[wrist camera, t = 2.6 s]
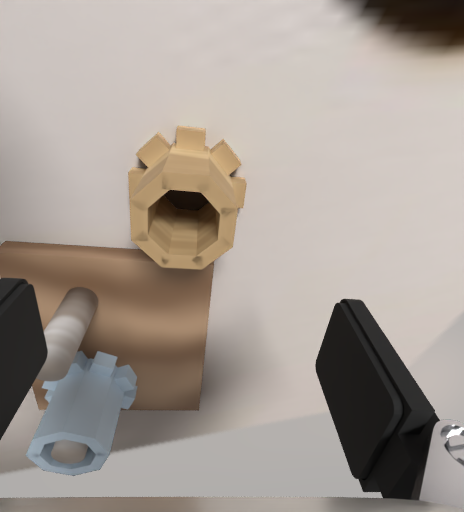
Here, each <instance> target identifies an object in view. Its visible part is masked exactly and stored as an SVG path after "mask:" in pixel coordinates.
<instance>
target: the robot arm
mask: <svg viewBox="0 0 464 512" xmlns="http://www.w3.org/2000/svg"><path fill="white" fill-rule="evenodd" d="M47 355H48V349H47V344H46V340H45V335H44V331H43V326H42V322H41V317H40V313H39V308H38V303H37V299H36V294H35V290H34V287H33V285H32V284H28V282H27V280H26V279H21V278H5V277H4V278H1V279H0V440H1V438H2V436H3V434H4V433H5V431H6V429H7V428H8V426H9V424H10V422H11V421H12V419H13V417H14V415H15V414H16V412H17V410H18V408H19V407H20V405H21V403H22V402H23V400H24V398H25V396H26V395H27V393H28V391H29V389H30V388H31V386H32V384H33V383H34V381H35V379H36V377H37V376H38V374H39V372H40V370H41V369H42V367H43V365H44V363H45V361H46V359H47ZM316 373H317V376H318V378H319V381H320V384H321V387H322V390H323V393H324V396H325V399H326V401H327V404H328V407H329V410H330V413H331V416H332V419H333V421H334V424H335V427H336V430H337V433H338V436H339V439H340V442H341V444H342V447H343V450H344V453H345V456H346V458H347V462H348V465H349V467H350V470H351V473H352V475H353V476H354V477H355V478H356V479H359V482H360V484H361V487H362V490H363V492H381V494H382V497H383V498H346V497H69V498H68V497H66V498H0V512H464V423H462V422H460V421H456V420H451V419H445V420H441V421H440V420H439V418H438V417H437V415H436V414H435V410H434V409H433V407H432V406H431V404H430V403H429V401H428V400H427V398H426V396H425V395H424V394H423V392H422V390H421V389H420V388H419V386H418V384H417V383H416V381H415V380H414V378H413V377H412V375H411V374H410V372H409V371H408V369H407V368H406V366H405V365H404V363H403V362H402V360H401V359H400V357H399V356H398V354H397V353H396V351H395V350H394V348H393V346H392V345H391V343H390V342H389V340H388V339H387V337H386V336H385V334H384V333H383V331H382V330H381V328H380V327H379V325H378V324H377V322H376V321H375V319H374V318H373V316H372V315H371V313H370V312H369V310H368V309H367V307H366V306H365V304H364V303H363V301H362V300H355V299H342V300H341V301H340V303H336V304H335V306H334V309H333V312H332V315H331V318H330V321H329V324H328V327H327V330H326V333H325V336H324V339H323V342H322V345H321V348H320V351H319V354H318V357H317V360H316Z"/></svg>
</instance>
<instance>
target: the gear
mask: <svg viewBox="0 0 464 512" xmlns="http://www.w3.org/2000/svg"><path fill="white" fill-rule="evenodd" d="M116 360H117V357H116V356H113V355H109V354H106V353H103V352H99V351H97V353H96V355H95V357H94V359H92V358H90V359H88V358H87V357H86V356H85V354H84V353H83V352H82V351H78V352H77V353H76V355H75V357H74V360H73V362H72V364H71V367H70V369H69V371H68V373H67V375H66V376H65V377H64V378H63V379H61V380H58V381H44V384H43V386H42V388H44V389H48V391H47V393H46V395H45V397H44V398H45V399H46V400H47V401H48V402H49V405H48V407H47V409H46V411H45V413H44V415H43V418H42V420H41V422H40V424H39V426H38V429H37V431H36V433H35V435H34V437H33V440H32V442H31V444H30V447H29V449H28V451H27V454H26V456H27V457H28V458H29V459H30V460H31V461H33V462H34V463H35V464H36V465H37V466H39V467H40V468H41V469H42V470H44V471H50V472H55V473H60V474H66V475H72V476H75V475H79V474H83V473H87V472H92V471H96V470H100V469H101V467H102V465H103V464H104V462H105V461H106V459H107V458H108V456H109V455H110V451H111V447H112V442H113V438H114V434H115V430H116V426H117V422H118V418H119V414H120V410H121V408H124V409H129V408H130V406H131V404H132V403H133V401H134V399H135V396H136V391H137V387H138V386H135V385H136V380H137V376H136V374H135V373H134V371H133V370H132V368H131V367H130V365H125V366H121V367H117V366H116V365H115V364H116ZM64 439H65V440H70V441H74V442H79V443H84V444H87V445H88V449H87V452H86V456H85V458H84V460H82V461H81V462H78V463H74V464H66V463H61V462H58V461H56V460H54V459H53V458H52V456H51V451H52V449H53V446H54V444H55V442H56V441H60V440H64Z"/></svg>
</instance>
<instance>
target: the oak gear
mask: <svg viewBox="0 0 464 512" xmlns="http://www.w3.org/2000/svg"><path fill="white" fill-rule="evenodd" d="M205 133H206V130H205V129H203V128H194V127H185V126H178V127H177V131H176V143H173V144H172V145H170V144H169V143H168V142H167V141H166V140H165V139H164V137H163V136H162V135H161V134H160V133H159V132H158V133H157V134H156V135H155V136H154V137H153V138H152V139H150V140H149V141H148V142H147V143H146V144H145V145H144V146H143V147H142V148H141V149H140V150H139V151H138V152H137V154H136V155H137V156H138V157H139V158H140V159H141V160H142V161H143V163H144V164H145V165H146V166H147V169H145V168H134V167H132V168H131V170H130V171H129V173H128V176H129V199H130V222H131V240H132V241H133V242H134V243H135V244H136V245H137V246H138V247H139V248H141V249H142V250H143V251H144V252H145V253H146V254H147V255H148V256H150V257H151V258H152V259H153V260H154V261H155V262H156V263H157V264H159V265H160V266H161V267H166V268H183V269H201V270H202V269H203V268H205V267H206V266H207V265H209V264H210V263H211V262H213V261H214V260H216V259H217V258H218V257H220V256H221V255H222V254H224V253H225V252H227V251H228V250H229V249H231V248H232V247H233V241H234V234H235V226H236V219H237V211H238V208H243V205H244V198H245V191H246V181H245V178H241V177H231V176H230V174H231V173H232V172H233V171H234V170H236V169H237V168H238V167H239V166H241V162H240V160H239V158H238V157H237V156H236V154H235V153H234V152H233V151H232V149H231V148H230V147H229V145H228V144H227V143H226V142H225V140H224V139H223V140H221V141H220V142H219V143H218V144H217V145H216V146H214V147H213V148H212V149H210V148H209V147H207V146H205ZM169 190H180V191H191V192H201V193H202V194H203V195H204V196H205V198H206V199H207V200H208V201H209V202H208V203H207V204H206V205H205V206H203V207H202V208H201V209H200V210H185V209H177V208H176V207H175V206H174V205H173V204H172V203H171V202H170V201H169V200H168V199H167V198H166V197H165V196H164V194H165V193H166V192H168V191H169Z"/></svg>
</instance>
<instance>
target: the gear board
mask: <svg viewBox="0 0 464 512" xmlns="http://www.w3.org/2000/svg"><path fill="white" fill-rule="evenodd" d="M213 268H214V261H213V262H211V263H210V264H209V265H207V266H206V267H205V268H203V269H202V270H201V269H183V268H166V267H161V266H160V265H159V264H157V263H156V262H155V261H154V260H153V259H152V258H151V257H150V256H148V255H147V254H146V253H145V252H144V251H143V250H139V249H123V248H107V247H91V246H76V245H60V244H44V243H28V242H12V241H5V242H4V243H3V244H2V245H1V246H0V277H1V278H4V277H5V278H21V279H26V280H27V282H28V284H32V285H33V287H34V290H35V294H36V299H37V303H38V308H39V313H40V317H41V322H42V326H43V331H44V335H45V340H46V344H47V349H48V355H47V359H46V361H45V363H44V365H43V367H42V369H41V370H40V372H39V374H38V376H37V377H36V379H35V381H34V383H33V384H32V387H33V391H34V394H35V397H36V401H37V404H38V408H39V410H46V409H47V407H48V405H49V402H48V401H47V400H46V399H45V398H44V397H45V395H46V393H47V391H48V389H44V388H42V386H43V384H44V381H58V380H61V379H63V378H64V377H65V376H66V375H67V373H68V371H69V369H70V367H71V364H72V362H73V360H74V357H75V355H76V353H77V352H78V351H82V352H83V353H84V354H85V356H86V357H87V358H88V359H90V358H92V359H94V357H95V355H96V353H97V351H99V352H103V353H106V354H109V355H113V356H116V357H117V360H116V364H115V365H116V366H117V367H121V366H125V365H130V367H131V368H132V370H133V371H134V373H135V374H136V376H137V380H136V385H135V386H138V387H137V391H136V396H135V399H134V401H133V403H132V404H131V406H130V408H129V409H124V408H121V410H199V403H200V394H201V384H202V374H203V365H204V355H205V345H206V336H207V326H208V316H209V307H210V297H211V287H212V278H213ZM87 449H88V445H87V444H84V443H79V442H74V441H70V440H65V439H64V440H60V441H56V442H55V444H54V446H53V449H52V451H51V456H52V458H53V459H54V460H56V461H58V462H61V463H66V464H74V463H78V462H81V461H82V460H84V458H85V456H86V452H87Z"/></svg>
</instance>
